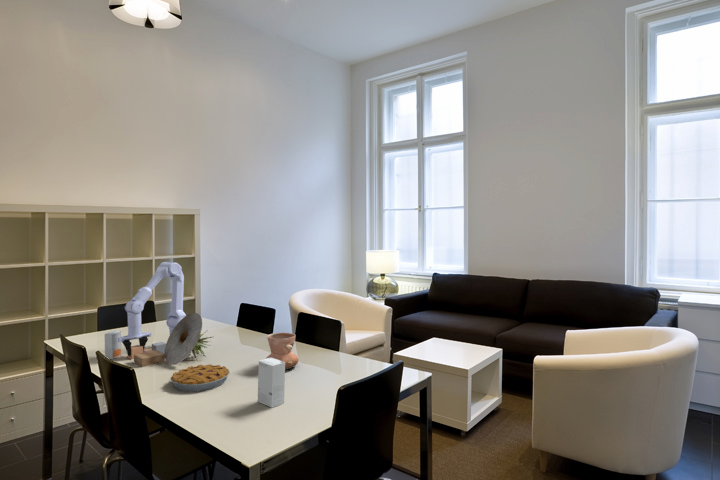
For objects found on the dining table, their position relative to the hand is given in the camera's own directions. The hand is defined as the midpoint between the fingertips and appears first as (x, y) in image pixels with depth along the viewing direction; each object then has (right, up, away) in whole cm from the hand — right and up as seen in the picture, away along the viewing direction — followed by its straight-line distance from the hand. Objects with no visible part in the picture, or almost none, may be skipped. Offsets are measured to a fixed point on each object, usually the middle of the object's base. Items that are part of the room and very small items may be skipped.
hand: (135, 354), depth 212 cm
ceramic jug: (+72, -2, -17) cm, 74 cm away
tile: (+2, -1, +9) cm, 10 cm away
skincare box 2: (+76, -3, -56) cm, 94 cm away
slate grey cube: (+9, -1, +6) cm, 11 cm away
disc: (+27, -2, -4) cm, 28 cm away
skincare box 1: (-11, -2, 0) cm, 11 cm away
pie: (+44, -3, -35) cm, 56 cm away
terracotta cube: (0, -1, 0) cm, 1 cm away
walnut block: (+10, -2, -8) cm, 13 cm away
